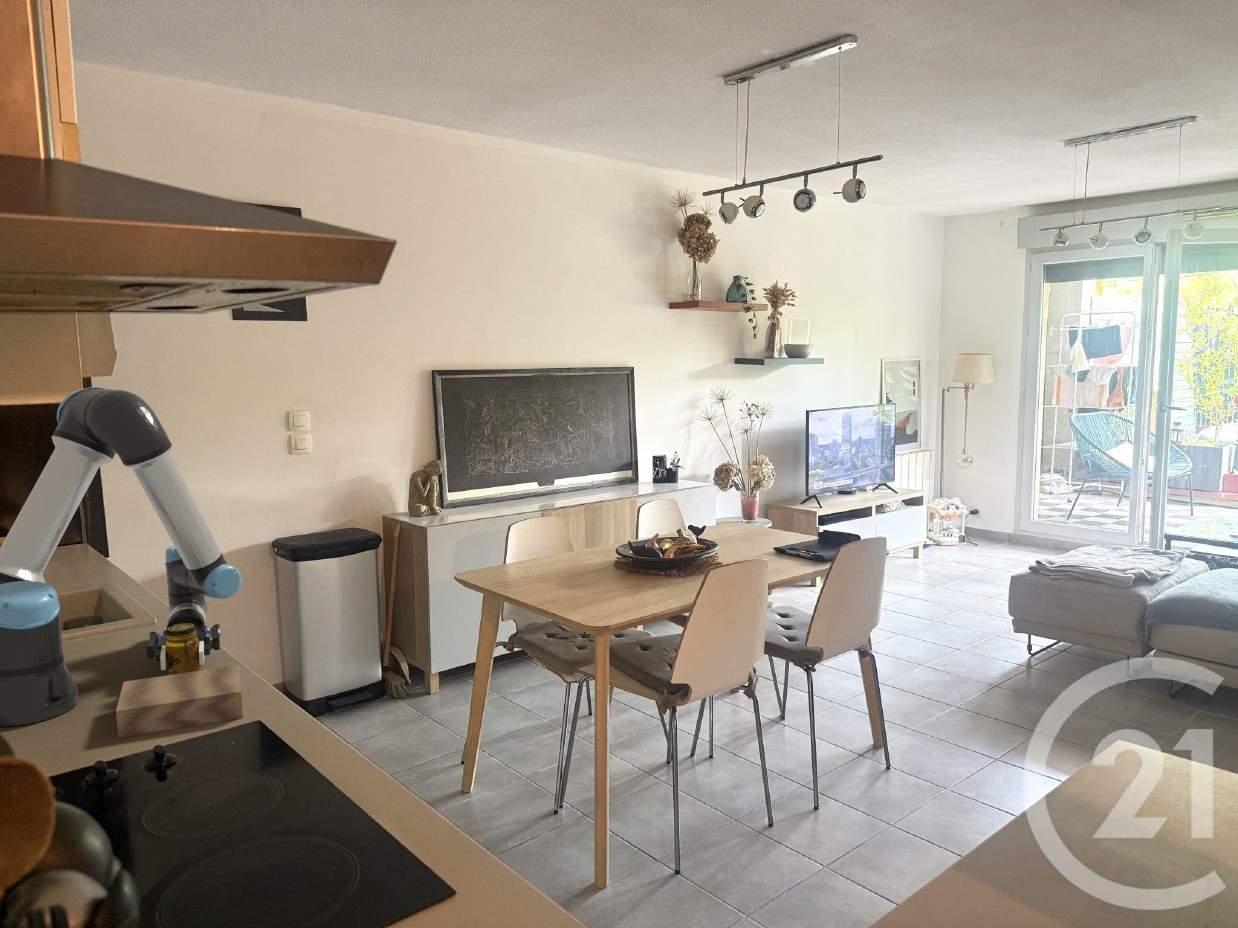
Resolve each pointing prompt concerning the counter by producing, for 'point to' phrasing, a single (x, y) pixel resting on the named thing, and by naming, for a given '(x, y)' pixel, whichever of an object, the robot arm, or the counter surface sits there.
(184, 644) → the condiment
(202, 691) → the stand
